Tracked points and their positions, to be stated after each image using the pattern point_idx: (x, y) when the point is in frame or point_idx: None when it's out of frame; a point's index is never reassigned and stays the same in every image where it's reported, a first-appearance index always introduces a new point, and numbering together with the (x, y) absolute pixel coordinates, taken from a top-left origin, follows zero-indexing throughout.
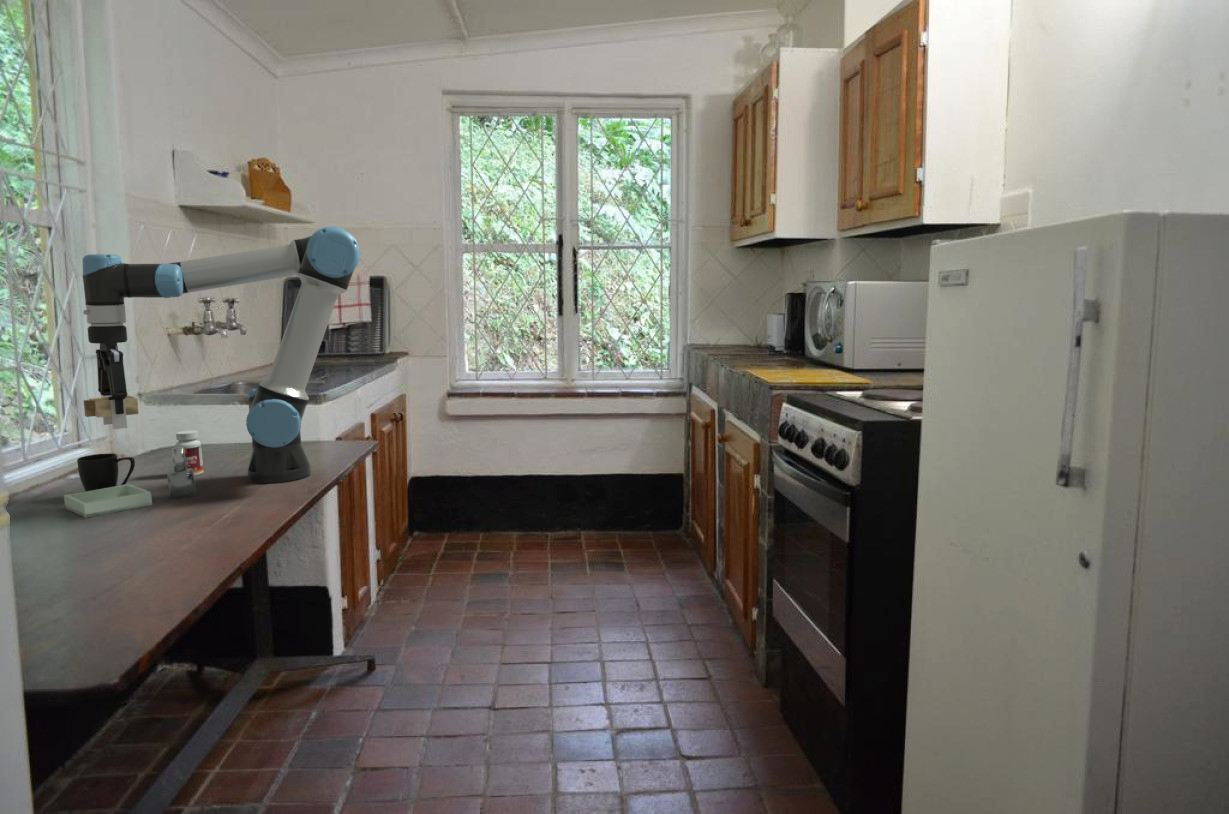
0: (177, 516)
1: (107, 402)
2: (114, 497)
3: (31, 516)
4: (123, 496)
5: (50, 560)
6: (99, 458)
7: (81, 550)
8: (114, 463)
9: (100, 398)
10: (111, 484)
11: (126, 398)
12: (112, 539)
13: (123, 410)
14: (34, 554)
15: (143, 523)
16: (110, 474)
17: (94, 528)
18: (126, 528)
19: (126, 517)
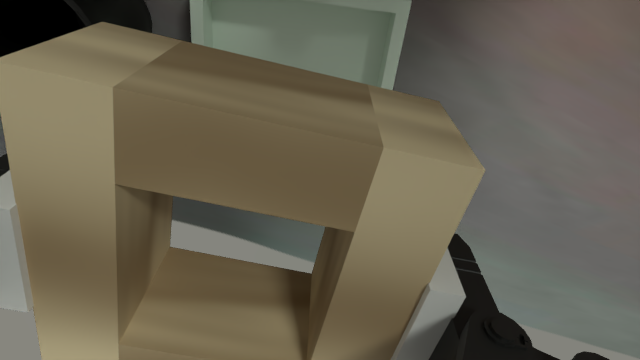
0: (622, 32)
1: None
2: (226, 34)
3: (225, 217)
4: (382, 86)
5: (610, 319)
6: None
7: (616, 276)
8: (98, 3)
9: (119, 339)
10: (140, 11)
11: (356, 232)
12: (618, 220)
13: (469, 254)
14: (543, 316)
15: (577, 122)
16: (132, 22)
17: (486, 199)
18: (571, 165)
19: (469, 114)
